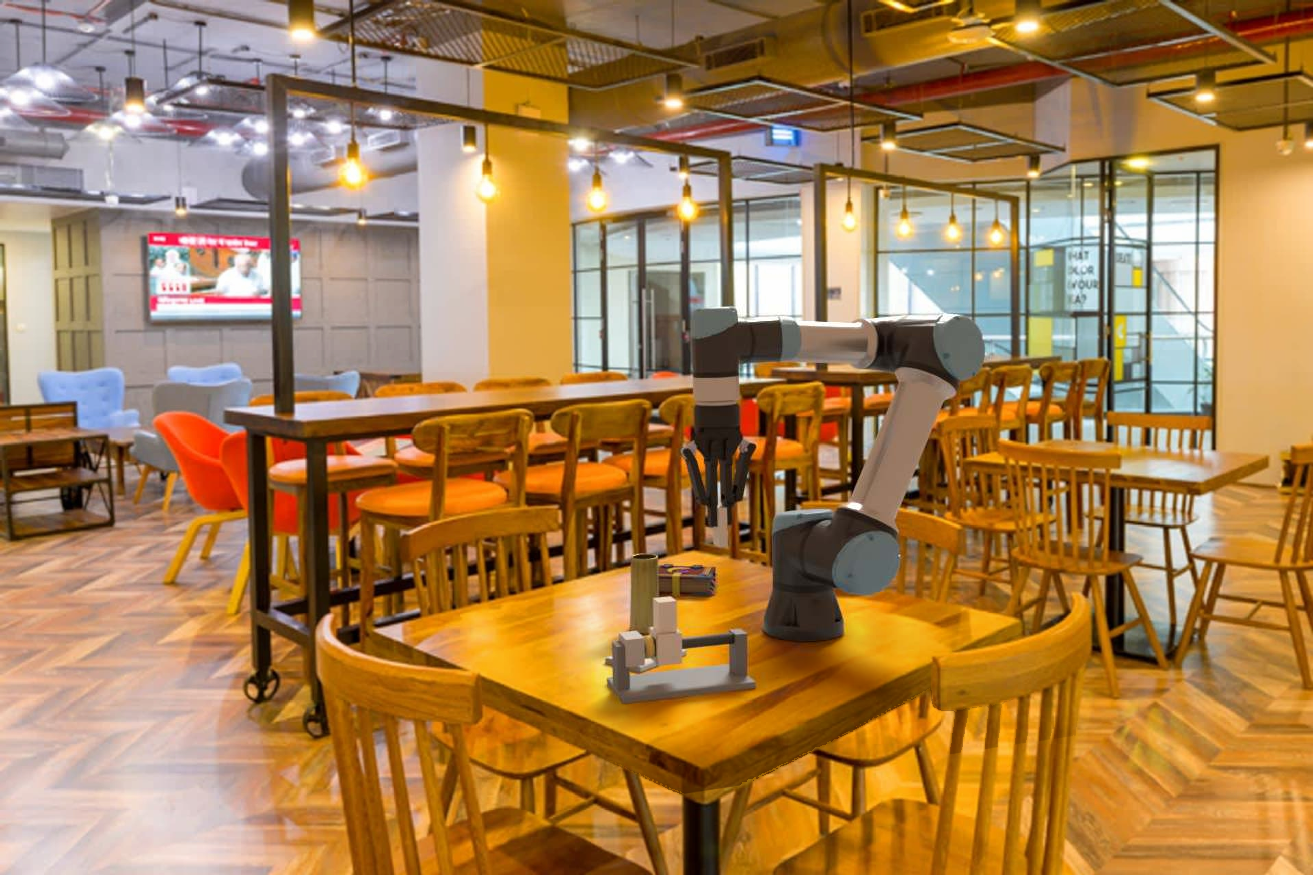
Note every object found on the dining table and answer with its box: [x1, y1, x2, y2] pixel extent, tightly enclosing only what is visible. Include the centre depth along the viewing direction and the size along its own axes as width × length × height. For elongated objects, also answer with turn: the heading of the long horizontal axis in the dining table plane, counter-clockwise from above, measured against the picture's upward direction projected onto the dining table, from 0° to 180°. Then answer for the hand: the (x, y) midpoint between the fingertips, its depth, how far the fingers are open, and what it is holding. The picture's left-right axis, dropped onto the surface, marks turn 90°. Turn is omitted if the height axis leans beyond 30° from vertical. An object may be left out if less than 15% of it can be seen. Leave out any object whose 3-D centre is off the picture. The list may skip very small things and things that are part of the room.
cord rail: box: [606, 628, 757, 704], centre depth 178 cm, size 22×10×9 cm, turn 107°
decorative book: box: [658, 563, 719, 597], centre depth 241 cm, size 11×16×5 cm
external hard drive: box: [604, 649, 687, 673], centre depth 192 cm, size 2×8×12 cm
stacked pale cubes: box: [648, 596, 683, 667], centre depth 176 cm, size 4×5×10 cm
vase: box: [629, 553, 660, 635], centre depth 210 cm, size 6×6×14 cm
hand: (720, 545), depth 181 cm, fingers closed
